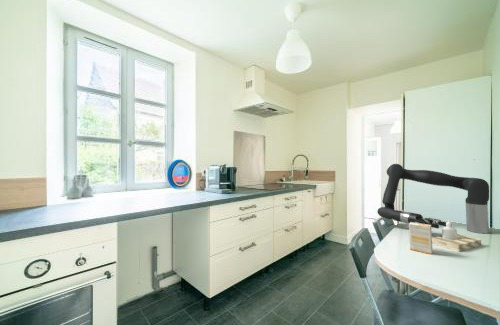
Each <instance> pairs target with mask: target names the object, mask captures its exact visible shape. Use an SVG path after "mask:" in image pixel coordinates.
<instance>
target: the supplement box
mask: <svg viewBox="0 0 500 325" xmlns="http://www.w3.org/2000/svg"><path fill="white" fill-rule="evenodd" d="M408 229H409V230H408V234H409V249H410V250H411V251H414V252H415V251H416V252H420V253H425V254H428V255H432V254H433V244H432V238H433V236H432V232H433V231H432V227H431V225H428V224H421V223H414V222H410V223H409V224H408Z"/></svg>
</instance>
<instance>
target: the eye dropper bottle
mask: <svg viewBox="0 0 500 325" xmlns="http://www.w3.org/2000/svg"><path fill="white" fill-rule="evenodd" d="M445 222H446V226H442V228H441V232H442V234H441V236H442V238H445V239H449V240H453V241H454V240H457V234H458V230H457V229H456V228H455V227H453V222H451V219H447V221H445Z"/></svg>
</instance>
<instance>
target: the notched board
mask: <svg viewBox="0 0 500 325" xmlns="http://www.w3.org/2000/svg"><path fill="white" fill-rule="evenodd" d="M432 245H435V246H439V247H443V248H445V249H449V250H452V251H455V252H458V253H459V252H462V251H467V250H469V249H473V248H474V249H475V248H477V247H480V246H482V239H481V238H478V237H477V238H476V237H472V236H467V235H464V234H459V233H457V240H454V241H453V240H449V239H445V238H442V237H441V236H434V237H432Z"/></svg>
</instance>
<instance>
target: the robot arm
mask: <svg viewBox="0 0 500 325" xmlns="http://www.w3.org/2000/svg"><path fill="white" fill-rule="evenodd" d="M386 174H387V176H388V179H387V180H388V181H387V184H386V186H385V190H384V193H383V197H382V204H383V205H384V206H381V207H379V208H378V209H377V212H376V213H377V214H378V215H379V217H381V218H383V219H387V220H394V221H395V222H401V223H404V224H406V225H409V223H410V222H414V223H421V224H428V225H431V228H432V229H433V228H434V229H439V228H440V226H442V227H446V222H447V221H442V220H441V219H439V218H433V217H423V215H422V214H421V213H416V212H410V211H405V210H404V211H403V210H397V209H395V201H396V197H397V192H398V186H399V183H400V180H409V181H413V182H416V183H417V182H418V183H423V184H427V185H432V186H438V187H439V186H440V187H451V188H452V187H453V188H456V189H460V190H464V191H467V197H466V198H465V200H464V202H465V218H466V222H465V223H466V230H467V231H469V232H473V233H477V234H490V225H489V207H488V206H489V205H488V204H489V200H490V185H489V183H488V181H487V180H485V179H484V178H479V177H468V176H467V177H465V176H458V175H457V176H456V175H451V174H448V173H444V172H441V171H440V172H439V171H434V170H427V169H425V170H424V169H406V168H404V166H402V164H399V163H393V164H391V165H390V166H388V168H387V169H386Z"/></svg>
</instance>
